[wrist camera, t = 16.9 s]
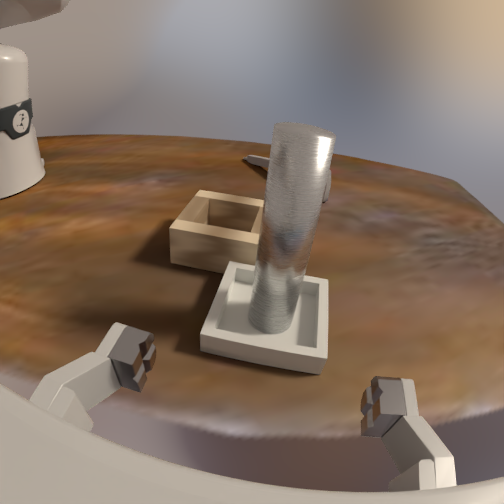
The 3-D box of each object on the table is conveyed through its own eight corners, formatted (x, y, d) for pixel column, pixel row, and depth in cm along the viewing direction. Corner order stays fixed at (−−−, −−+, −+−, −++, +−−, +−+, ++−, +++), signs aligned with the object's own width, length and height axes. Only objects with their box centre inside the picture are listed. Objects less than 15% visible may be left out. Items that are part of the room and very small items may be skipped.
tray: (200, 350, 23) (200, 333, 22) (228, 278, 31) (229, 260, 30) (319, 374, 22) (327, 358, 21) (322, 296, 30) (328, 279, 29)
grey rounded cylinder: (244, 329, 25) (270, 131, 16) (252, 298, 28) (277, 119, 19) (290, 338, 24) (337, 143, 16) (293, 306, 27) (333, 129, 19)
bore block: (170, 262, 32) (169, 227, 29) (198, 220, 39) (199, 189, 37) (260, 281, 31) (266, 245, 29) (272, 233, 38) (277, 202, 36)
